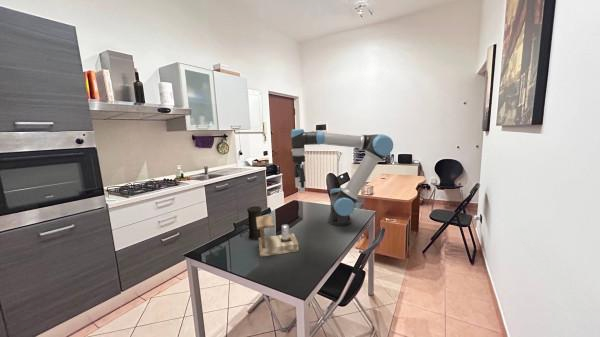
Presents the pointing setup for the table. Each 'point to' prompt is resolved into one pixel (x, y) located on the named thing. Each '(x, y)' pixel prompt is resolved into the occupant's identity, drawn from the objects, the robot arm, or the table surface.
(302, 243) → the table surface
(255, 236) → the container
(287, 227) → the peg
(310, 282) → the table surface
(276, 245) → the socket station
